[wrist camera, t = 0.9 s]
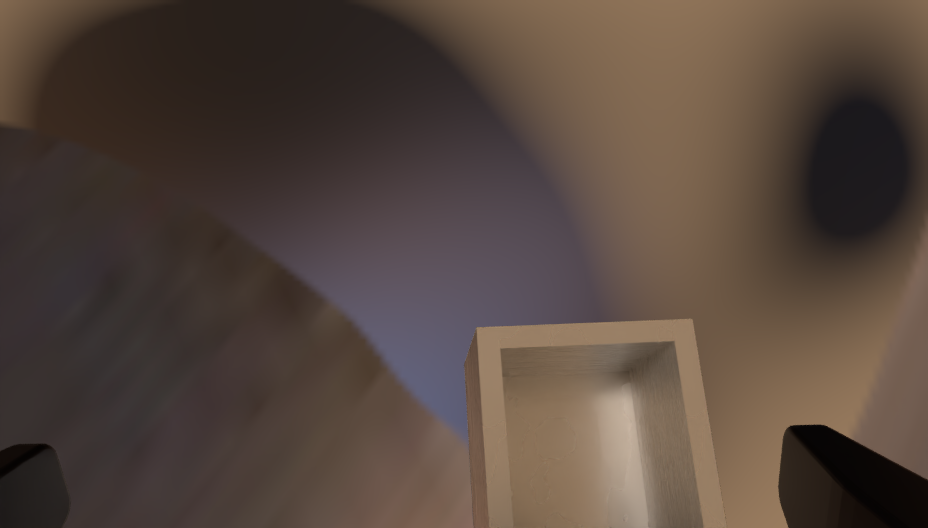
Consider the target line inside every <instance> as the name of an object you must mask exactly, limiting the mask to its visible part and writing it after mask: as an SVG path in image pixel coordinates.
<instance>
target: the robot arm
mask: <svg viewBox="0 0 928 528" xmlns="http://www.w3.org/2000/svg"><path fill="white" fill-rule="evenodd" d="M778 488H779V498H780V503H781V506H782V509H783V512H784V516H785V518H786V521H787V524H788V527H789V528H928V480H927V479H925V478H923V477H921V476H919V475H918V474H916V473H914V472H912V471H910V470H908V469H906V468H904V467H903V466H901V465H899V464H897V463H895V462H893V461H891V460H889V459H888V458H886V457H884V456H882V455H880V454H878V453H876V452H874V451H873V450H871V449H869V448H867V447H865V446H863V445H861V444H859V443H858V442H856V441H854V440H852V439H850V438H848V437H846V436H844V435H843V434H841V433H839V432H837V431H835V430H833V429H831V428H829V427H827V426H825V425H793V426H790V427H788V428H787V429H786V431H785V433H784V436H783V444H782V454H781V464H780V474H779V485H778ZM70 504H71V501H70V494H69V491H68V488H67V484H66V481H65V478H64V475H63V472H62V469H61V466H60V462H59V459H58V456H57V454H56V451H55V450H54V449H53V448H52V447H51V446H50V445H48V444H17V445H13V446H10V447H8V448H6V449H4V450H1V451H0V528H63V526H64V524H65V522H66V520H67V517H68V515H69V511H70Z"/></svg>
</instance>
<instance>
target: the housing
mask: <svg viewBox="0 0 928 528" xmlns="http://www.w3.org/2000/svg"><path fill="white" fill-rule="evenodd" d="M464 367H465V384H466V402H467V420H468V437H469V454H470V472H471V489H472V506H473V524H474V528H727V524H726V518H725V512H724V506H723V500H722V494H721V488H720V482H719V476H718V470H717V464H716V458H715V452H714V446H713V440H712V434H711V428H710V422H709V416H708V410H707V404H706V398H705V392H704V386H703V380H702V374H701V368H700V362H699V356H698V350H697V345H696V338H695V332H694V326H693V320H692V319H679V320H678V319H677V320H652V321H629V322H602V323H577V324H551V325H528V326H502V327H477V328H476V330H475V333H474V336H473V339H472V343H471V345H470V349H469V352H468V354H467V358H466V361H465V364H464Z"/></svg>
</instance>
